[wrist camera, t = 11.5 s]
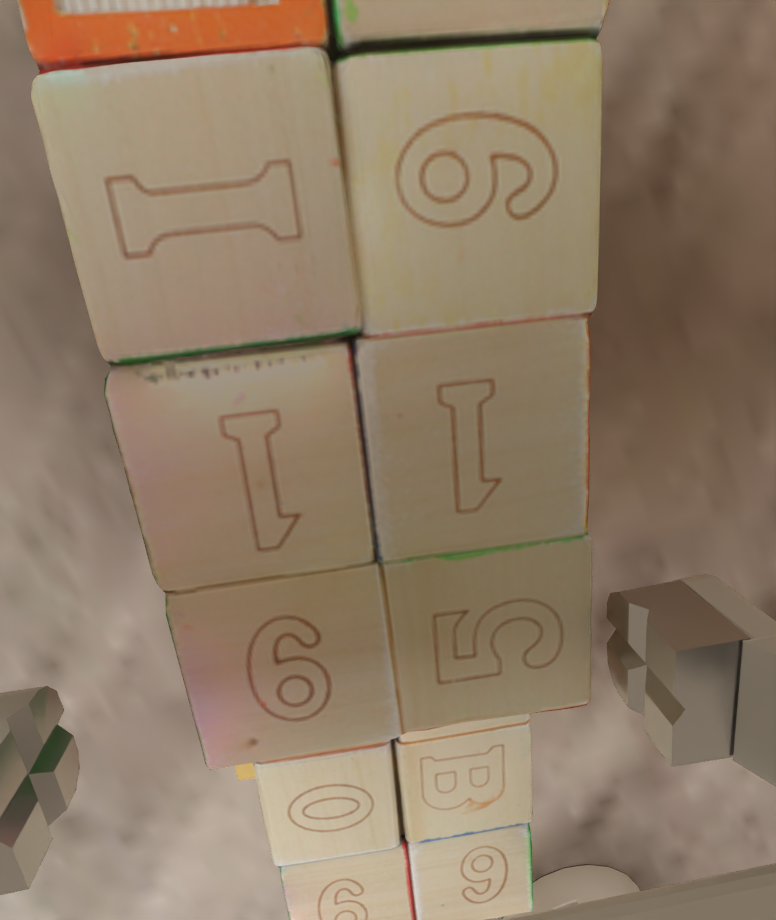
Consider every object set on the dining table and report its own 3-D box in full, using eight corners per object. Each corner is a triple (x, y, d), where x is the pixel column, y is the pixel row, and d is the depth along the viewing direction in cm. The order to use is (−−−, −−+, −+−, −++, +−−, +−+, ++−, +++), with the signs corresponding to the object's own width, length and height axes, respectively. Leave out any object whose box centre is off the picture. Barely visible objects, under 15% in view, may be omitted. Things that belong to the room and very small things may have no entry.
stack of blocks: (455, 677, 24) (585, 1074, 12) (300, 700, 23) (279, 1136, 11) (420, 67, 17) (641, -392, 5) (200, 80, 16) (-95, -390, 5)
